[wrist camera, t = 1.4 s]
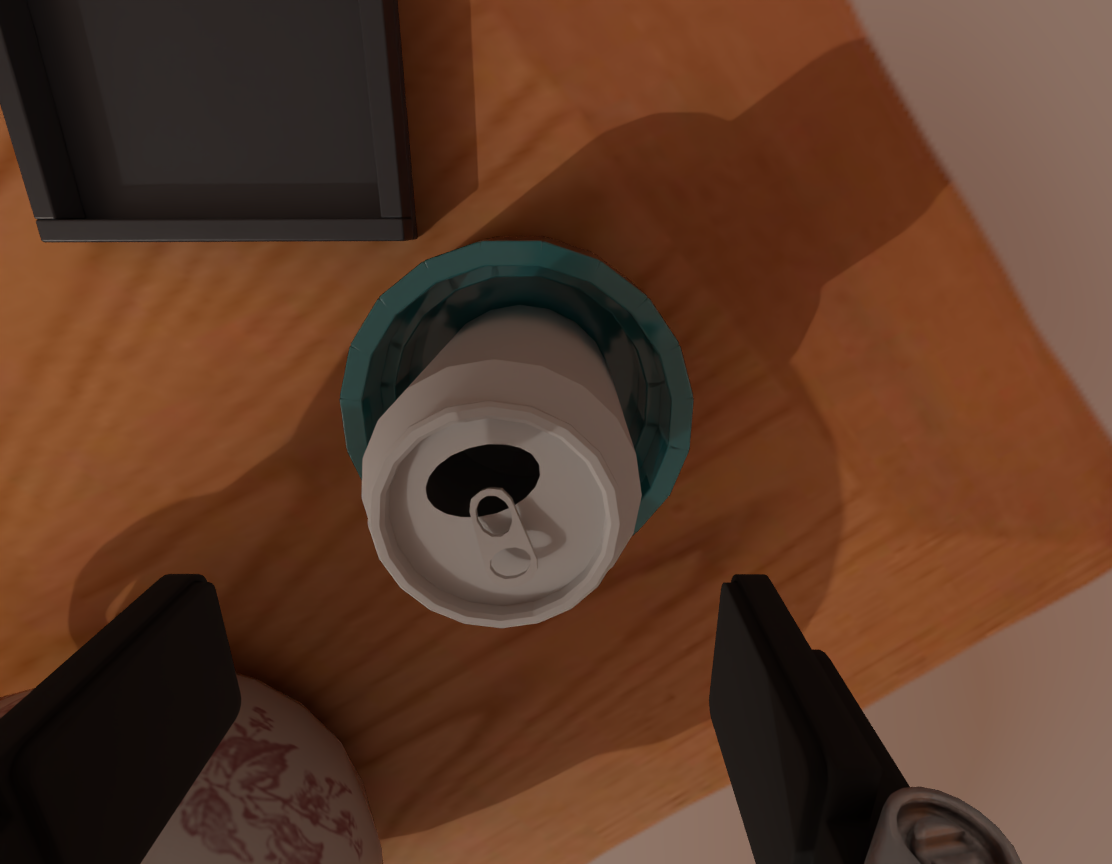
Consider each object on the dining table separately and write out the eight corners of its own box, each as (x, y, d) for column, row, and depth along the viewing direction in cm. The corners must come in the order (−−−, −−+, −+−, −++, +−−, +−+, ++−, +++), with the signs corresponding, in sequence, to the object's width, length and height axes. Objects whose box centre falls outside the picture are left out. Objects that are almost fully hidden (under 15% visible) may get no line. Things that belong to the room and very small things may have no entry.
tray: (-38, -202, 19) (-109, -252, 17) (380, -207, 18) (358, -257, 16) (84, 240, 23) (40, 242, 21) (417, 238, 23) (404, 240, 21)
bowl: (365, 236, 23) (316, 241, 18) (677, 235, 23) (707, 239, 18) (397, 512, 28) (363, 573, 23) (659, 513, 27) (679, 573, 23)
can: (579, 276, 23) (596, 330, 12) (631, 439, 26) (685, 611, 14) (410, 335, 24) (279, 437, 13) (476, 487, 27) (413, 684, 15)
